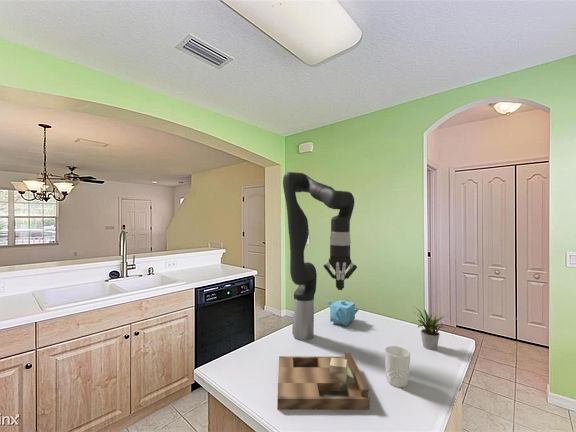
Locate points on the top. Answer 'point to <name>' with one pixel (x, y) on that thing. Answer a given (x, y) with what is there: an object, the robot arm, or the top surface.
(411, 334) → the top surface
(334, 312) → the teapot
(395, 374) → the white cup
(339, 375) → the birch block
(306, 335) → the robot arm
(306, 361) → the box
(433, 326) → the house plant
